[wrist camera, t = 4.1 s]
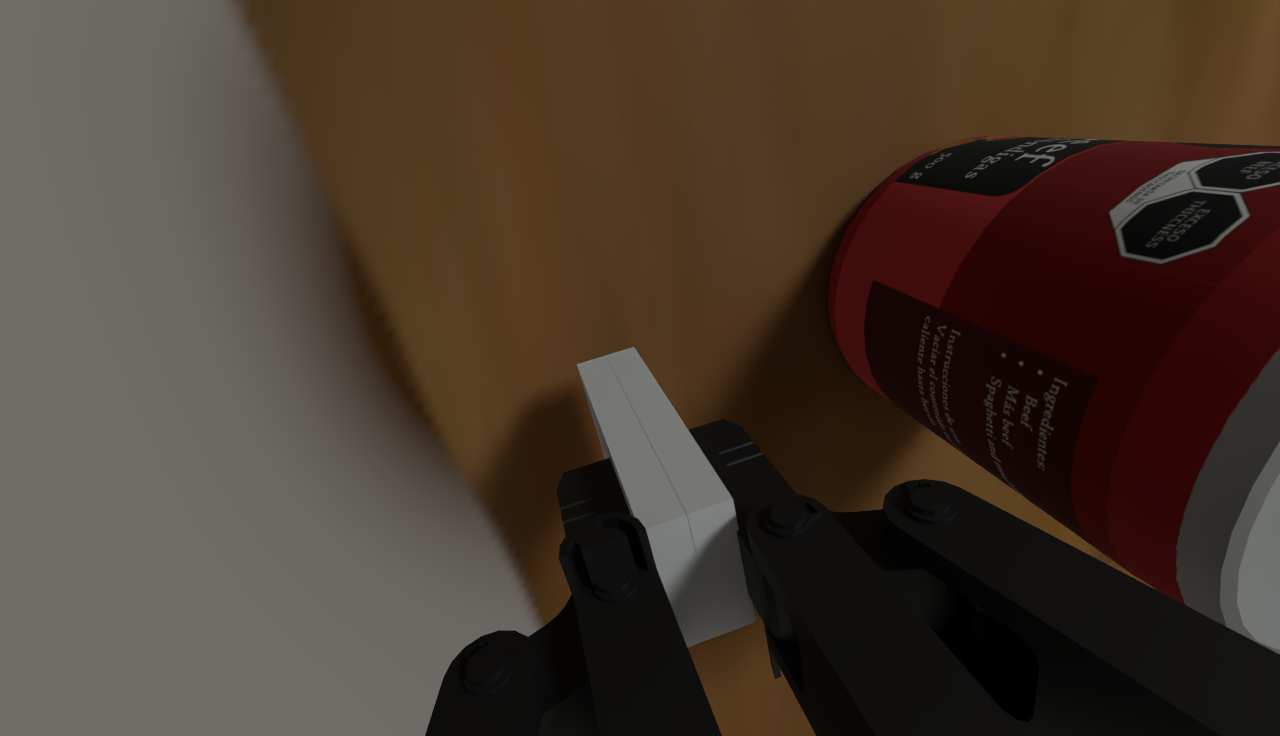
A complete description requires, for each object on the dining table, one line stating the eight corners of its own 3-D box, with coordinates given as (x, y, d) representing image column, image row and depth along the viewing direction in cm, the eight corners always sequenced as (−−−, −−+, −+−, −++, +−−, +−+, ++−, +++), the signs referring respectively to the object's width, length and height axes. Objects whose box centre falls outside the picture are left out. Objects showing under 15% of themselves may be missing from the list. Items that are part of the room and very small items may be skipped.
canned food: (1085, 183, 18) (1778, 263, 9) (960, 408, 21) (1389, 673, 11) (897, 89, 16) (1581, 50, 6) (778, 359, 18) (1127, 648, 8)
